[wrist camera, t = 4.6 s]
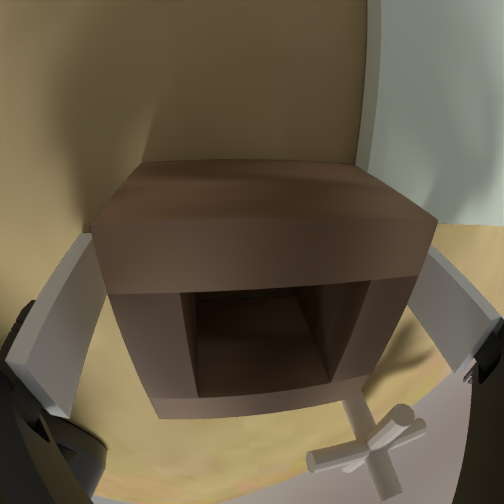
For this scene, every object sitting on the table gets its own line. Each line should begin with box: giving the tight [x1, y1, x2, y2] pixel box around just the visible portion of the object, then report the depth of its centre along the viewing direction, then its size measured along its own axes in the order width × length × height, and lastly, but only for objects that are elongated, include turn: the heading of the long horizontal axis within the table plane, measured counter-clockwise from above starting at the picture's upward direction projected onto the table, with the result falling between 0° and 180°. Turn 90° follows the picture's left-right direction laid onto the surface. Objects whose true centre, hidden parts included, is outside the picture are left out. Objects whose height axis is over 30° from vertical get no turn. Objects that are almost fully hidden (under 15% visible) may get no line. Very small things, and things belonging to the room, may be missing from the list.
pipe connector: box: [306, 391, 426, 502], centre depth 16 cm, size 10×10×10 cm
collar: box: [90, 159, 438, 419], centre depth 10 cm, size 8×8×5 cm
